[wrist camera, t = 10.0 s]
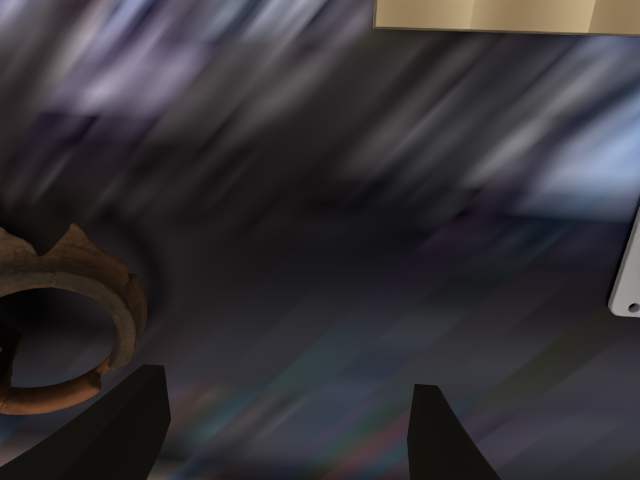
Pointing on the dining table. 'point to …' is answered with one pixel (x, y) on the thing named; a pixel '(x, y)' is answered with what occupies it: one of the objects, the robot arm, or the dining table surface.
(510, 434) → the dining table surface
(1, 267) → the pottery mug
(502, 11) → the bore block
